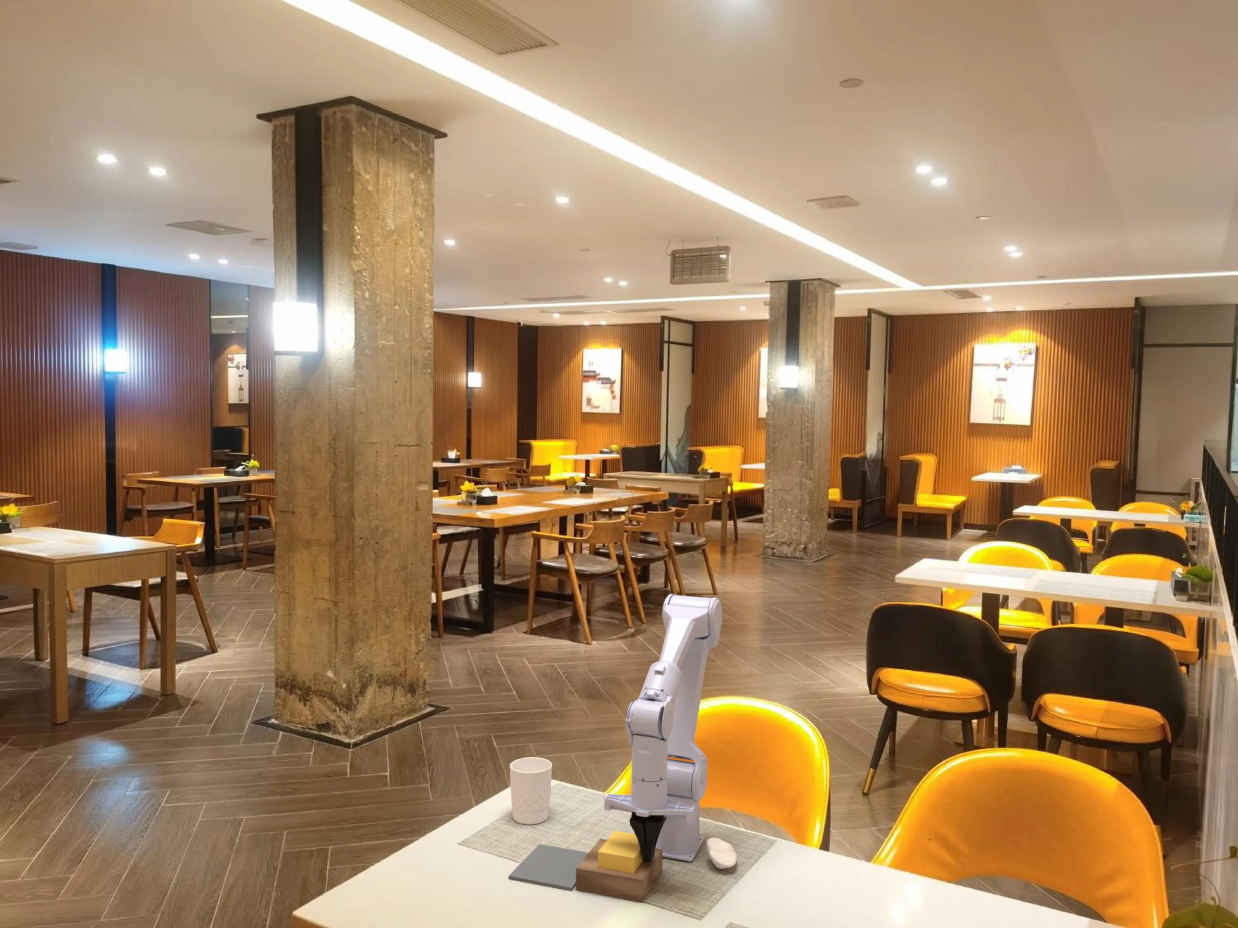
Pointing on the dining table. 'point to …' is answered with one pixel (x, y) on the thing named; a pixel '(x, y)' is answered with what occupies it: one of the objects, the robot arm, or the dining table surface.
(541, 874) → the mat
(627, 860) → the yellow cuboid
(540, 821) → the white cup
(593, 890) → the brown cuboid
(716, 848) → the dumpling
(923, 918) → the dining table surface
